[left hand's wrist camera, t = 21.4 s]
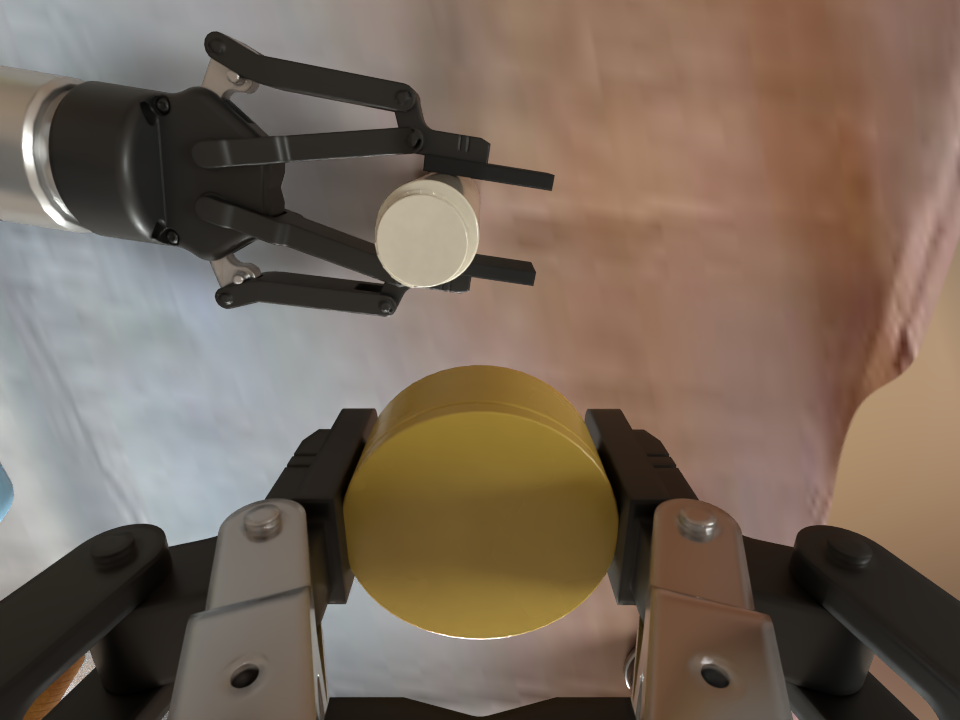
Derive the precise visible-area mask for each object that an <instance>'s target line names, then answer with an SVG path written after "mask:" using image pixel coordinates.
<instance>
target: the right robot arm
mask: <svg viewBox="0 0 960 720" xmlns="http://www.w3.org/2000/svg"><path fill="white" fill-rule="evenodd" d="M204 46H205V50H206V52H207V54H208V55H209V56H210V57H211V60H210V63H209V66H208V69H207V72H206V75H205V78H204V81H203V84H202V87H191V88H189V89H187V90H185V91H182V92H179V93H166V92H160V91H154V90H147V89H141V88H135V87H129V86H123V85H117V84H110V83H104V82H98V81H89V82H84V81H82V80H81V79H76V78H71V77H66V76H60V75H54V74H48V73H42V72H36V71H30V70H24V69H18V68H12V67H6V66H0V220H1V221H8V222H14V223H20V224H27V225H33V226H39V227H46V228H52V229H58V230H65V231H71V232H77V233H96V234H98V235H102V236H107V237H114V238H121V239H128V240H135V241H141V242H148V243H155V244H162V245H169V246H177V247H181V248H184V249H186V250H188V251H190V252H192V253H193V254H195V255H196V256H198V257H199V258H201V259H204V260H208V261H210V263H211V266H212V268H213V270H214V273H215V275H216V277H217V280H218V282H219V284H220V287H221V288H220V289H218V290H217V292H216V294H215V299H216V302H217V303H218V305H220V306H221V307H223V308H226V309H231V308H235V307H240V306H244V305H248V304H253V303H257V302H264V303H272V304H281V305H289V306H298V307H306V308H315V309H324V310H332V311H341V312H349V313H358V314H367V315H375V316H384V317H386V316H390V315H392V314H393V313H394V312H395V310H396V309H397V307H398V305H399V303H400V301H401V299H402V297H403V295H404V293H405V292H406V291H407V290H408V289H410V288H411V287H408V286H405V285H402V284H401V283H400V282H398V281H397V280H395V279H394V278H392V277H391V275H390V274H389V273H388V272H387V271H386V270H385V269H384V268H383V265H382V264H381V262H380V260H379V258H378V256H377V251H376V247H375V244H373V243H370V242H367V241H365V240H362V239H359V238H357V237H354V236H351V235H349V234H346V233H343V232H340V231H338V230H335V229H332V228H330V227H327V226H324V225H322V224H319V223H316V222H314V221H311V220H308V219H306V218H304V217H303V216H302V215H300V214H298V213H295V212H292V211H290V210H287V209H284V205H285V202H284V198H283V194H282V190H281V184H282V180H283V177H284V173H285V163H287V162H301V161H315V160H329V159H343V158H357V157H371V156H385V155H399V154H413V153H415V154H421V155H425V158H424V168H423V171H429V172H435V173H442V174H448V175H454V176H461V177H467V178H473V179H480V180H486V181H492V182H499V183H505V184H511V185H518V186H524V187H530V188H537V189H543V190H549V191H552V186H553V181H554V176H555V175H552V174H549V173H545V172H538V171H532V170H526V169H520V168H513V167H507V166H501V165H495V164H488V157H489V151H490V143H488V142H487V141H485V140H483V139H482V138H478V137H472V136H465V135H459V134H453V133H447V132H441V131H435V130H432V129H430V128H429V127H428V126H427V125H426V123H425V121H424V118H423V113H422V109H421V104H420V98H419V95H418V94H417V93H416V92H415V91H414V90H413V89H412V88H411V87H410V86H409V85H407V84H404V83H399V82H394V81H389V80H384V79H379V78H374V77H369V76H364V75H359V74H353V73H348V72H343V71H338V70H333V69H328V68H323V67H318V66H313V65H308V64H303V63H298V62H293V61H287V60H282V59H277V58H272V57H267V56H264V55H262V54H261V53H259V52H257V51H256V50H254V49H252V48H251V47H249V46H247V45H246V44H244V43H242V42H240V41H237V40H235V39H233V38H231V37H229V36H227V35H224V34H222V33H220V32H217V31H216V32H211V33H209V34H208V35H207V36H206V38H205V42H204ZM259 84H263V85H266V86H269V87H272V88H276V89H280V90H284V91H288V92H294V93H299V94H304V95H309V96H314V97H320V98H325V99H330V100H335V101H340V102H345V103H351V104H356V105H361V106H366V107H371V108H377V109H382V110H387V111H392V112H395V115H396V119H397V123H398V127H399V128H387V129H373V130H359V131H345V132H332V133H318V134H304V135H290V136H268V135H267V134H266V133H265V132H264V131H263V130H262V129H261V128H259V127H258V126H257V125H256V124H255V123H254V122H253V121H252V120H251V119H250V118H249V117H248V116H247V115H245V114H244V113H243V112H242V111H241V110H240V109H239V108H238V107H237V106H236V105H235V104H234V103H232V102H231V101H230V100H229V99H230V97H231V95H232V94H233V93H236V92H242V93H246V94H251V93H254V92H255V91H256V90H257V89H258V87H259ZM257 239H260V240H263V241H265V242H268V243H271V244H275V245H283V246H287V247H290V248H293V249H295V250H298V251H301V252H304V253H307V254H309V255H312V256H315V257H318V258H320V259H323V260H326V261H329V262H331V263H334V264H337V265H340V266H342V267H345V268H348V269H351V270H353V271H356V272H359V273H362V274H364V275H367V276H370V277H373V278H375V279H378V280H381V281H384V282H385V283H384V284H380V283H371V282H363V281H355V280H346V279H338V278H330V277H321V276H313V275H305V274H296V273H288V272H276V271H274V272H263V273H261V272H260V269H259V268H258V267H257V266H256V265H254V264H252V263H243V262H240V261H239V260H237V258H236V257H235V256H234V254H233V253H235V252H237V251H238V250H240V249H242V248H244V247H245V246H247V245H249V244H250V243H252V242H254V241H256V240H257ZM535 275H536V271H535V269H534V267H533V265H532V263H531V262H526V261H520V260H513V259H506V258H500V257H493V256H486V255H480V254H475V256H474V259H473V260H472V262H471V264H470V265H469V266H468V268H467V269H466V270H465V271H464V272H463V273H462V274H461V275H459V276H458V277H456V278H455V279H453V280H451V281H449V282H446V283H443V284H439V285H437V286H432V287H419V288H426V289H433V290H440V291H447V292H454V293H463V292H468V291H469V288H470V282H471V277H476V278H483V279H489V280H496V281H503V282H510V283H517V284H523V285H530V286H533V285H534V280H535ZM414 287H416V286H414ZM13 497H14V490H13V485H12V482H11V480H10V478H9V477H8V475H7V473H6V471H5V470H4V468H3V466H2V464H1V463H0V522H1V520H2V519H3V518H4V517H5V515H6V514H7V512H8V511H9V509H10V507H11V504H12V502H13Z"/></svg>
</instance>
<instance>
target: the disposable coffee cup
mask: <svg viewBox="0 0 960 720" xmlns="http://www.w3.org/2000/svg"><path fill="white" fill-rule="evenodd" d="M84 659H85V654H84V655H83V656H82V657H81V658H80V659H79V660H78V661H77V662H76V663H74V664H73V665H72V666H71V667H70V668H69V669H68V670H67V671H66V672H65V673H64V674H62V675H61V676H60V677H59V678H58V679H57V680H56V681H55V682H54V683H53V684H52V685H50V686H49V687H48V688H47V689H46V690H45V691H44V692H43V693H42V694H41V695H40V696H39V697H38V698H37V699H36V700H35V701H34V702H33V704H32V705H31V706H30V708H29V709H28V710H27V712H26V714H25V716H24V718H23V720H41V719H42V718H43V717H44V716H45V715H46V714H48V713H49V712H50V711H51V710H52V709H53V708H54V707H55V706H56V705H57V704H58V703H59V702H60V700H61V698H62V697H63V695H64V693H65V692H66V690H67V688H68V687H69V685H70V683H71V682H72V680H73V678H74V677H75V675H76V674H77V672H78V670H79V669H80V667H81V665H82V664H83V662H84Z"/></svg>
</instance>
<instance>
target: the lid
mask: <svg viewBox="0 0 960 720" xmlns="http://www.w3.org/2000/svg"><path fill="white" fill-rule="evenodd" d="M343 515H344V524H345V533H346V541H347V550H348V559H349V565H350V568H351V570H352V571H353V573H354V575H355V576H356V578H357V580H358V581H359V583H360V584H361V585H362V587H363V588H364V589H365V590H366V591H367V593H368V594H369V595H370V596H371V597H372V598H373V599H374V600H375V601H376V602H377V603H378V604H380V605H381V606H382V607H383V608H385V609H386V610H387V611H389V612H390V613H392V614H393V615H395V616H396V617H398V618H400V619H402V620H403V621H405V622H407V623H409V624H411V625H414V626H416V627H418V628H420V629H423V630H426V631H430V632H433V633H436V634H440V635H445V636H449V637H455V638H464V639H496V638H505V637H510V636H516V635H520V634H524V633H527V632H531V631H534V630H536V629H539V628H541V627H544V626H546V625H549V624H551V623H553V622H554V621H556V620H558V619H560V618H562V617H564V616H565V615H567V614H568V613H569V612H571V611H572V610H574V609H575V608H577V607H578V606H579V605H580V604H581V603H582V602H583V601H584V600H586V599H587V598H588V597H589V596H590V594H591V593H592V592H593V591H594V590H595V589H596V588H597V587H598V585H599V584H600V582H601V581H602V579H603V578H604V576H605V575H606V573H607V571H608V569H609V566H610V564H611V562H612V560H613V557H614V554H615V550H616V543H617V535H618V526H619V514H618V508H617V503H616V499H615V496H614V493H613V490H612V487H611V485H610V482H609V480H608V477H607V475H606V472H605V470H604V467H603V465H602V462H601V460H600V457H599V455H598V452H597V450H596V447H595V445H594V442H593V440H592V438H591V435H590V433H589V430H588V428H587V426H586V424H585V422H584V421H583V419H582V417H581V416H580V414H579V413H578V412H577V410H576V409H575V408H574V406H573V405H572V404H571V403H570V402H569V401H568V400H567V399H566V398H565V397H564V396H563V395H562V394H561V393H559V392H558V391H557V390H555V389H554V388H553V387H551V386H550V385H548V384H546V383H545V382H543V381H541V380H539V379H538V378H535V377H533V376H530V375H528V374H526V373H523V372H520V371H516V370H513V369H509V368H504V367H497V366H484V365H472V366H463V367H456V368H451V369H447V370H443V371H440V372H437V373H434V374H431V375H429V376H426V377H424V378H422V379H421V380H419V381H417V382H415V383H413V384H411V385H410V386H409V387H407V388H406V389H404V390H403V391H401V392H400V393H399V394H398V395H397V396H396V397H395V398H394V399H393V400H392V401H390V402H389V404H388V405H387V406H386V407H385V409H384V410H383V411H382V412H381V414H380V415H379V417H378V419H377V420H376V422H375V424H374V425H373V428H372V430H371V433H370V435H369V437H368V440H367V442H366V445H365V447H364V450H363V452H362V455H361V457H360V459H359V462H358V464H357V467H356V469H355V472H354V474H353V476H352V479H351V481H350V484H349V486H348V489H347V491H346V494H345V496H344V501H343Z"/></svg>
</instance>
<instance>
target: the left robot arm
mask: <svg viewBox="0 0 960 720" xmlns="http://www.w3.org/2000/svg"><path fill="white" fill-rule="evenodd" d="M377 419H378V417H377V412H376V410H375V409H342V410H341V412H340V414H339V415H338V417H337V419H336V421H335V423H334V424H333V426H332V428H331V429H319V430H317V431H316V432H314V433H313V434H311V435H310V436H308V437H307V438H306V439H304V440H303V441H302V442H301V444H300V445H299V447H298V448H297V450H296V452H295V453H294V456H292V458H291V459H290V461H289V463H288V464H287V468H285V469H284V470H283V472H282V473H281V475H280V477H279V478H278V480H277V481H276V483H275V484H274V486H273V487H272V489H271V491H270V492H269V494H268V495H267V497H266V498H265V500H261V501H257V502H254V503H251V504H249V505H246V506H244V507H242V508H240V509H238V510H237V511H235V512H234V513H232V514H231V515H230V516H229V517H228V518H226V520H225V521H224V522H223V523H222V525H221V527H220V529H219V532H218V536H216V537H212V538H208V539H204V540H199V541H194V542H190V543H185V544H180V545H175V546H170V547H168V543H167V539H166V536H165V533H164V531H163V530H162V529H161V528H159V527H157V526H154V525H151V524H132V525H126V526H121V527H118V528H114V529H111V530H108V531H106V532H103V533H101V534H99V535H96V536H94V537H93V538H91V539H89V540H87V541H86V542H84V543H82V544H81V545H79V546H78V547H77V548H75V549H74V550H72V551H71V552H69V553H68V554H67V555H65V556H64V557H62V558H61V559H60V560H58V561H57V562H55V563H54V564H52V565H51V566H50V567H48V568H47V569H45V570H44V571H43V572H41V573H40V574H38V575H37V576H35V577H34V578H33V579H31V580H30V581H28V582H27V583H26V584H24V585H23V586H21V587H20V588H18V589H17V590H16V591H14V592H13V593H11V594H10V595H9V596H7V597H6V598H4V599H3V600H1V601H0V720H23V718H24V716H25V714H26V712H27V710H28V709H29V708H30V706H31V705H32V704H33V702H34V701H35V700H36V699H37V698H38V697H39V696H40V695H41V694H42V693H43V692H44V691H45V690H46V689H47V688H48V687H49V686H50V685H52V684H53V683H54V682H55V681H56V680H57V679H58V678H59V677H60V676H61V675H62V674H64V673H65V672H66V671H67V670H68V669H69V668H70V667H71V666H72V665H73V664H74V663H76V662H77V661H78V660H79V659H80V658H81V657H82V656H83V655H84V654H85V653H87V652H88V651H89V650H90V652H91V655H92V658H93V661H94V663H95V666H96V667H95V668H94V669H93V670H92V671H91V672H90V673H89V674H88V675H87V676H86V677H85V678H84V679H83V680H82V681H81V682H80V683H79V684H78V685H77V686H76V687H75V688H74V689H73V690H71V691H70V692H69V693H68V694H67V695H66V696H65V697H64V698H63V699H62V700H61V701H60V702H59V703H58V704H57V705H56V706H55V707H54V708H53V709H52V710H51V711H50V712H49V713H48V714H46V715H45V716H44V717H43V718H42V719H41V720H161V719H162V718H163V717H164V715H165V714H166V713H167V712H168V711H169V713H168V718H167V720H793V718H792V713H791V711H792V712H793V713H794V714H795V715H796V717H797V718H798V719H799V720H919V719H918V718H917V717H916V716H914V714H912V713H911V712H910V711H909V710H908V709H907V708H906V707H905V706H904V705H903V704H902V703H901V702H900V701H899V700H898V699H897V698H896V697H895V696H894V695H893V694H892V693H891V692H890V691H889V690H887V689H886V688H885V687H884V686H883V685H882V684H881V683H880V682H879V681H878V680H877V679H876V678H875V677H874V676H873V675H872V674H871V673H870V672H869V668H870V665H871V662H872V660H873V657H874V654H876V655H877V656H878V657H879V658H880V659H881V660H882V661H883V662H884V663H886V664H887V665H888V666H889V667H890V668H891V669H892V670H893V671H894V672H895V673H896V674H898V675H899V676H900V677H901V678H902V679H903V680H904V681H905V682H906V683H907V684H908V685H910V686H911V687H912V688H913V689H914V690H915V691H916V692H917V693H918V694H919V695H920V696H922V697H923V698H924V699H925V700H926V701H927V703H928V704H929V705H930V706H931V707H932V709H933V710H934V712H935V713H936V715H937V717H938V718H939V720H960V601H959V600H957V599H956V598H954V597H953V596H951V595H950V594H949V593H947V592H946V591H944V590H943V589H942V588H940V587H939V586H937V585H936V584H934V583H933V582H932V581H930V580H929V579H927V578H926V577H925V576H923V575H922V574H920V573H919V572H917V571H916V570H915V569H913V568H912V567H910V566H909V565H908V564H906V563H905V562H903V561H902V560H900V559H899V558H898V557H896V556H895V555H893V554H892V553H891V552H889V551H888V550H886V549H885V548H883V547H882V546H880V545H879V544H877V543H876V542H874V541H872V540H870V539H868V538H867V537H865V536H862V535H860V534H858V533H855V532H852V531H850V530H846V529H843V528H838V527H833V526H826V525H815V526H809V527H805V528H804V529H802V530H800V531H799V532H798V534H797V537H796V540H795V544H794V547H790V546H785V545H780V544H775V543H771V542H766V541H761V540H757V539H753V538H749V537H746V536H743V535H742V532H741V529H740V526H739V525H738V523H737V522H736V521H735V520H734V518H732V517H731V516H730V515H729V514H728V513H726V512H725V511H723V510H722V509H720V508H718V507H716V506H714V505H711V504H709V503H706V502H703V501H699V499H698V498H697V496H696V495H695V493H694V492H693V490H692V489H691V487H690V486H689V484H688V483H687V481H686V480H685V478H684V476H683V475H682V473H681V472H680V470H679V469H678V468H676V464H675V463H674V461H673V460H672V458H671V457H669V453H668V452H667V450H666V449H665V447H664V446H663V444H662V443H661V441H660V440H658V439H657V438H655V437H654V436H652V435H651V434H649V433H648V432H647V431H645V430H632V428H631V427H630V425H629V423H628V421H627V420H626V418H625V416H624V414H623V413H622V411H621V410H620V409H587V411H586V415H585V424H586V426H587V428H588V430H589V433H590V435H591V438H592V440H593V442H594V445H595V447H596V450H597V452H598V455H599V457H600V460H601V462H602V465H603V467H604V470H605V472H606V475H607V477H608V480H609V482H610V485H611V487H612V490H613V493H614V496H615V499H616V503H617V508H618V514H619V526H618V535H617V543H616V550H615V554H614V557H613V560H612V562H611V564H610V566H609V569H608V571H607V573H608V576H609V579H610V583H611V586H612V589H613V592H614V595H615V599H616V602H617V605H637V608H638V611H639V614H640V616H639V623H638V630H637V640H636V647H635V648H634V649H633V650H632V651H631V652H630V653H629V655H628V656H627V658H626V660H625V663H624V676H625V680H626V683H627V686H628V688H629V690H630V693H631V697H632V698H630V697H556V698H552V699H549V700H545V701H541V702H537V703H534V704H530V705H526V706H522V707H519V708H515V709H511V710H508V711H504V712H500V713H496V714H493V715H489V716H484V717H476V716H471V715H467V714H464V713H460V712H456V711H452V710H449V709H445V708H441V707H438V706H434V705H430V704H426V703H423V702H419V701H415V700H411V699H408V698H404V697H330V698H328V686H327V675H326V663H325V652H324V640H323V630H322V623H321V621H322V618H323V615H324V612H325V610H326V607H327V604H346V603H347V599H348V596H349V593H350V589H351V586H352V583H353V579H354V576H355V575H354V573H353V571H352V570H351V568H350V565H349V559H348V550H347V541H346V533H345V524H344V515H343V501H344V496H345V494H346V491H347V489H348V486H349V484H350V481H351V479H352V476H353V474H354V472H355V469H356V467H357V464H358V462H359V459H360V457H361V455H362V452H363V450H364V447H365V445H366V442H367V440H368V437H369V435H370V433H371V430H372V428H373V425H374V424H375V422H376V420H377Z"/></svg>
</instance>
